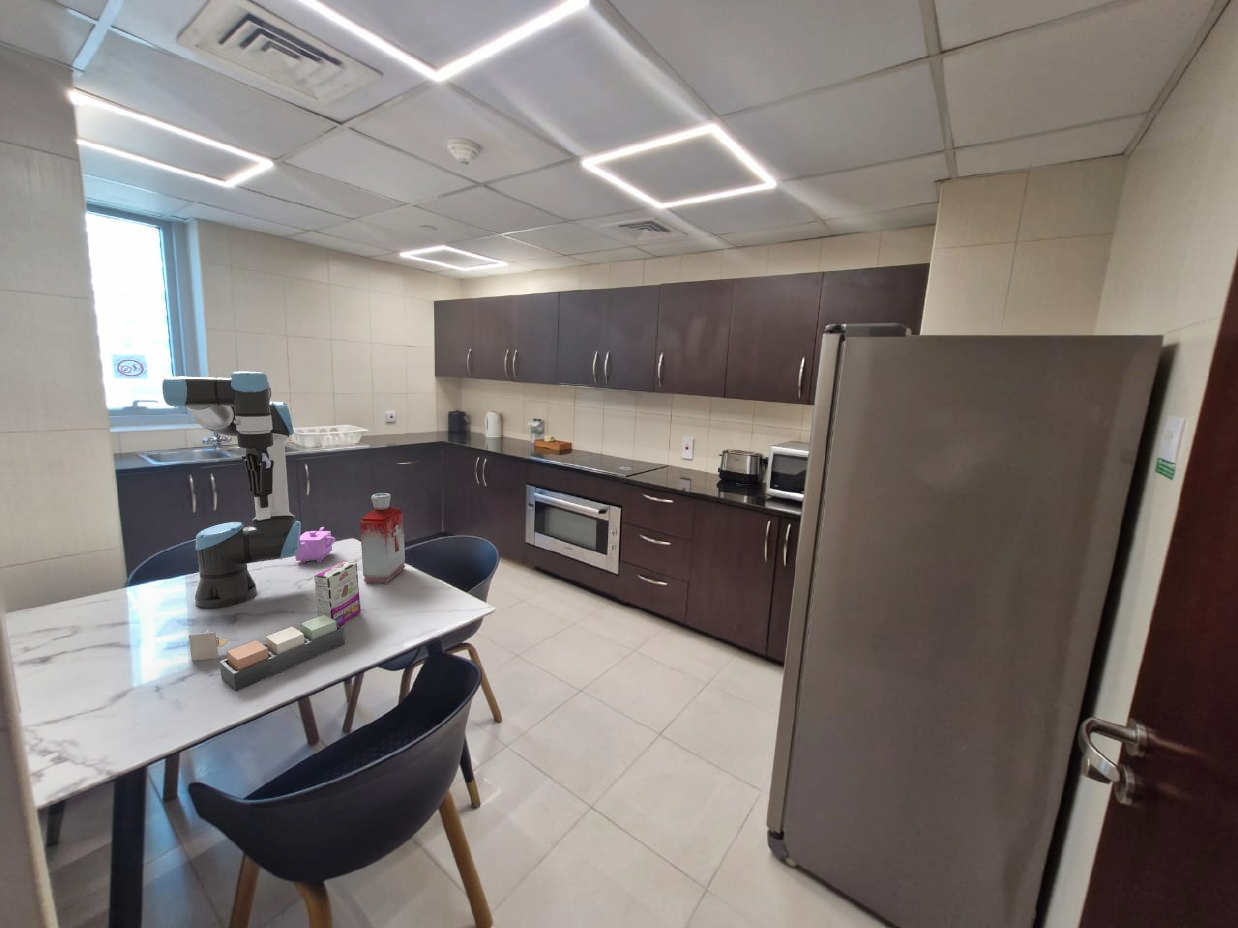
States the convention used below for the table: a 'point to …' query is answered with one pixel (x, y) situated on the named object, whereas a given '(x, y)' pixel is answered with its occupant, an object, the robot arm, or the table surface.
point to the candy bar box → (338, 592)
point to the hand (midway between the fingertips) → (263, 518)
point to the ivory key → (284, 640)
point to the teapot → (315, 545)
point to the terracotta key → (247, 655)
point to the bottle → (382, 541)
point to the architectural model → (205, 645)
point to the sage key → (318, 627)
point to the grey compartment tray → (280, 660)
